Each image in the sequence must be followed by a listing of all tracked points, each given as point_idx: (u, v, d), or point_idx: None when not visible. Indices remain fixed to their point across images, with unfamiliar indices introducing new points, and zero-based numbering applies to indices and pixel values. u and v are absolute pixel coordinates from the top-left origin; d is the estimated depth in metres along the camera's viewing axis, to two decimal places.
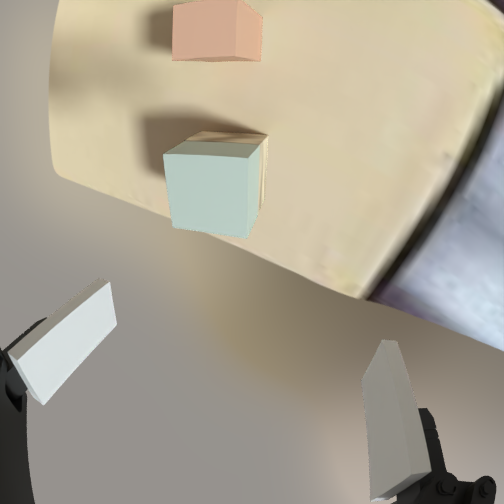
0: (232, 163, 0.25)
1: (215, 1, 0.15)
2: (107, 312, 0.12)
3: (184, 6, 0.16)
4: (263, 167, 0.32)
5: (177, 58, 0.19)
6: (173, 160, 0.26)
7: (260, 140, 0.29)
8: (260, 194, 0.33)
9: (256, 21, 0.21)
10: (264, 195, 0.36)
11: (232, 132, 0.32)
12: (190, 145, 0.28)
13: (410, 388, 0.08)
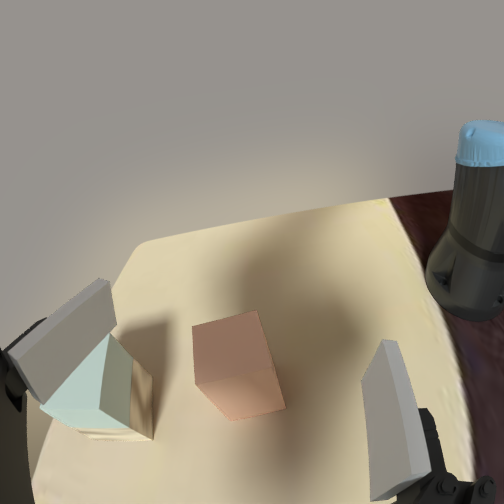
0: (95, 395, 0.19)
1: (262, 347, 0.20)
2: (107, 312, 0.12)
3: (254, 320, 0.23)
4: (116, 435, 0.22)
5: (193, 330, 0.23)
6: (103, 342, 0.24)
7: (138, 430, 0.22)
8: (90, 432, 0.21)
9: (270, 402, 0.23)
10: (96, 439, 0.23)
11: None
12: (123, 361, 0.26)
13: (410, 389, 0.08)
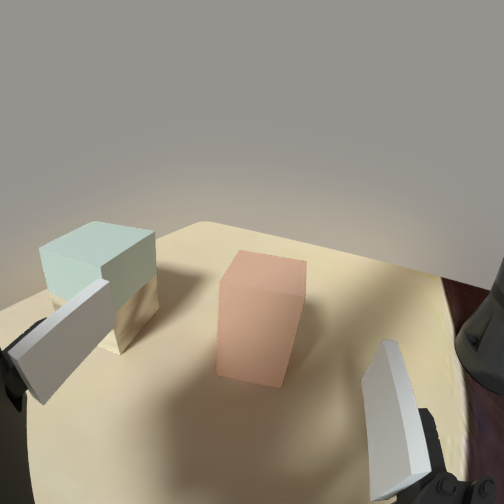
0: (105, 258, 0.20)
1: (301, 282, 0.20)
2: (107, 312, 0.12)
3: (301, 266, 0.23)
4: None
5: (239, 252, 0.24)
6: (144, 233, 0.26)
7: (116, 330, 0.22)
8: None
9: (273, 364, 0.21)
10: None
11: (141, 328, 0.27)
12: (148, 265, 0.27)
13: (410, 388, 0.08)
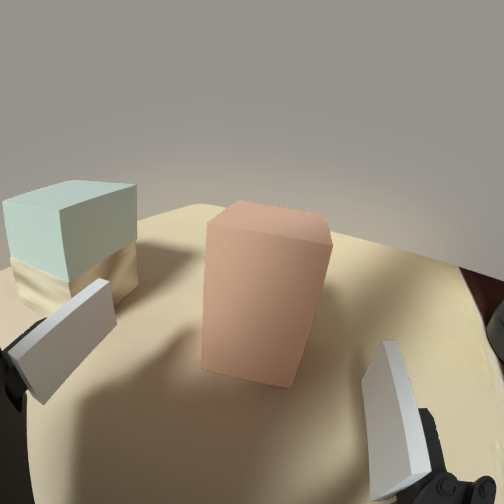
0: (69, 203, 0.15)
1: (323, 231, 0.14)
2: (107, 312, 0.12)
3: (320, 218, 0.17)
4: (46, 300, 0.17)
5: (237, 201, 0.18)
6: (123, 186, 0.21)
7: None
8: (24, 278, 0.17)
9: (281, 354, 0.15)
10: (24, 301, 0.18)
11: None
12: (126, 225, 0.21)
13: (410, 389, 0.08)
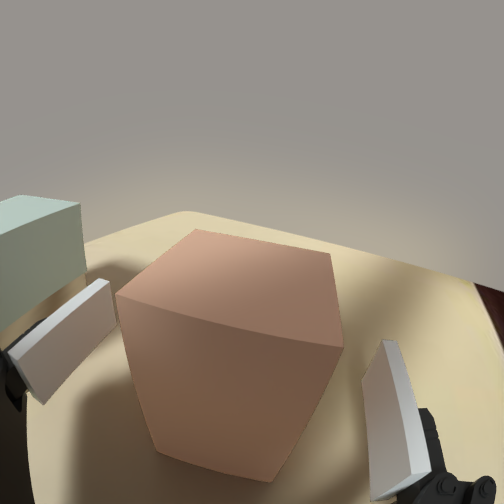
0: None
1: (327, 302, 0.08)
2: (107, 312, 0.12)
3: (322, 262, 0.10)
4: None
5: (193, 233, 0.12)
6: (62, 206, 0.14)
7: None
8: None
9: (255, 459, 0.09)
10: None
11: None
12: (68, 257, 0.15)
13: (410, 389, 0.08)
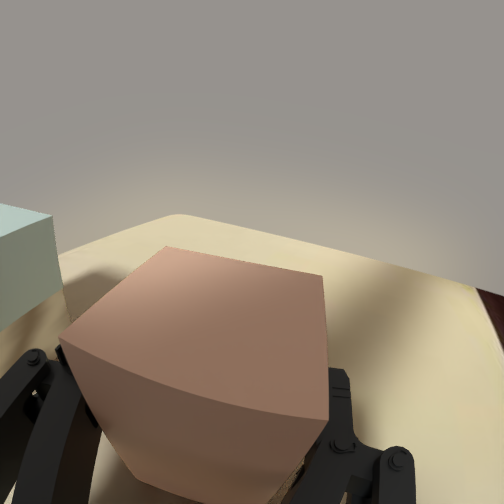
0: None
1: (314, 350, 0.06)
2: None
3: (312, 289, 0.09)
4: None
5: (162, 251, 0.10)
6: (33, 219, 0.12)
7: None
8: None
9: (236, 498, 0.07)
10: None
11: None
12: (41, 273, 0.13)
13: None
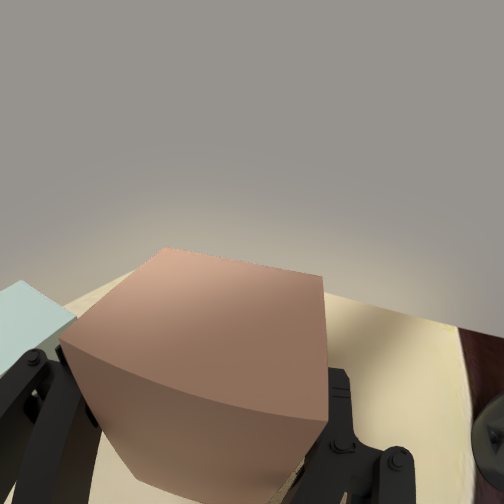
0: None
1: (313, 351, 0.06)
2: None
3: (312, 289, 0.09)
4: None
5: (162, 252, 0.10)
6: (60, 320, 0.15)
7: None
8: None
9: (235, 498, 0.07)
10: None
11: None
12: None
13: None
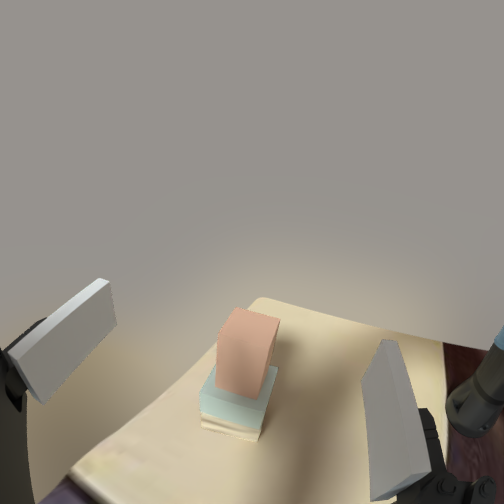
0: (262, 402, 0.32)
1: (270, 337, 0.30)
2: (107, 312, 0.12)
3: (275, 323, 0.33)
4: (235, 431, 0.34)
5: (235, 309, 0.35)
6: (272, 371, 0.38)
7: None
8: (214, 422, 0.34)
9: (251, 384, 0.32)
10: (205, 428, 0.36)
11: None
12: (272, 387, 0.39)
13: (410, 389, 0.08)
